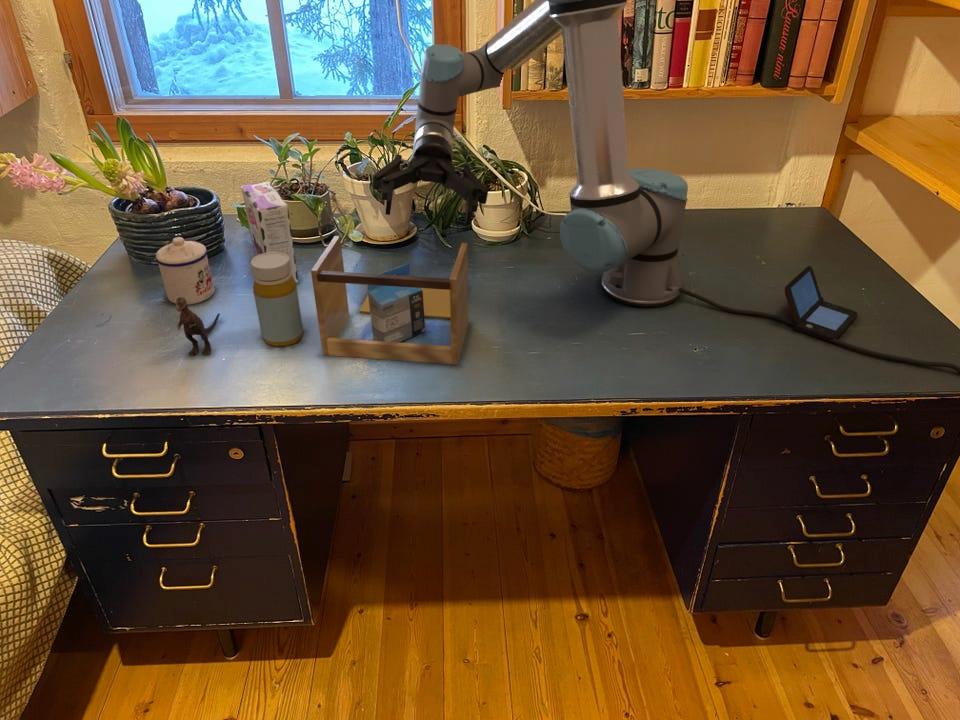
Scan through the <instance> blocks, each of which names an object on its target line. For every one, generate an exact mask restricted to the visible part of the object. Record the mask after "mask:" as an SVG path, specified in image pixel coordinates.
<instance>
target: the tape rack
mask: <svg viewBox="0 0 960 720" xmlns="http://www.w3.org/2000/svg"><path fill="white" fill-rule="evenodd" d="M341 239H342V238H341V235H334V236H333V237H332V239H331V241H330V242H329V244H328V245H327V246H326V248H325V249H324V251H323V253H322V254H321V255H320V256H319V258H318V260H317V261H316V263H315V264H314V265H313V267H312V268H311V270H310V275H311V280H312V288H313V289H312V290H313V295H314V303H315V308H316V316H317V323H318V324H317V325H318V331H319V338H320V344H321V345H320V346H321V352H322V356H327V357H328V356H331V357H332V356H333V357H345V358H346V357H347V358H357V359H358V358H359V359H360V358H361V359H371V360H372V359H373V360H385V361H387V360H388V361H398V362H399V361H400V362H401V361H402V362H414V363H427V364H439V365H440V364H442V365H452V366H458V364H459V361H460V357H461V353H462V349H463V346H464V343H465V342H464V341H465V340H466V339H465V338H466V334H467V331H468V326H469V249H468V247H469V244H468V243H467V242H461V244H460V247H459V250H458V253H457V256H456V260H455V262H454V265H453V268H452V271H451V275H450V277H449V278H446V277H429V276H415V275H414V276H412V275H410V276H399V275H396V274H394V275H383V274H380V273H366V272H364V273H363V272H350V271H349V272H348V271H345V266H344V257H343V247H342V241H341ZM347 284H349V285H351V284H352V285H366V286H368V285H381V286H397V287H413V288H429V289H445V290H450V318H451V319H450V345H440V344H439V345H437V344H423V343H411V342H410V343H408V342H399V343H397V342H383V341H374V340H369V339H356V338H355V339H353V338H340V335H341V333H342V331H343V329H344V327H345V325H346V324H347V321H348V320H349V318H350V310H349V301H348V292H347Z"/></svg>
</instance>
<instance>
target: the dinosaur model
mask: <svg viewBox="0 0 960 720" xmlns="http://www.w3.org/2000/svg"><path fill="white" fill-rule="evenodd" d="M175 310H176V312H178V313H180V314H179V321H178V323H177V325H176V328H177V329H178V330H179V331H180V330H181V328H182V325H183V332H184V336H185V338H186V339H187V340H188V341H190V343H191V346H192V348H191V350H190V351H189V352H188V356H190V357H191V356H192V357H194V356H197V355H198V353H199V340H197V339H196V338H195V337H193V336H200V338H201V341H203V342H204V343H203V344H204V345H203V346H204V347H203V349H202V350H201V355H202V356H204V357H206V356H209V355H211V353H212V345H211V342H210V341H209V338H208V333H210V332H211V331H212V330H213V329H214V328H215V326H216V323H217V322H218V320H219V318H220V315H221V313H219V312H218V313H217V315H216V316H215V318H214V319H213V322H212V323H211V325H210V326H208V327H206V328H205V324H204V322H203V321H204V320H202V319H201V317H200V316H198V314H196V313H195V312H193V311H192V310H191V309H190V308H189V306H188V305H187V301H186V300H185V298H184V297H179V298H177V299H176V304H175Z"/></svg>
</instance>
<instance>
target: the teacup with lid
mask: <svg viewBox="0 0 960 720" xmlns="http://www.w3.org/2000/svg"><path fill="white" fill-rule="evenodd" d="M155 261H156V262H157V264H158V267H159V271H160V275H161V279H162V283H163V286H164V289H165V293H166V297H167V299H168V301H170V302H171V303H172V304H175V305H176V299H177V298H179V297H184V298H185V300H186V301H187V306H188V305H196V304H198V303H199V304H200V303H202V302H205V301H206V300H208V299H210V298H211V297H212V296H213V295H214V293H215V285H214V281H213V276H212V272H211V268H210V263H209V259H208V249H207V248H206V246H205V245H204V244H203V243H202V242H201V243H200V242H198V241H193V240H185V239H184V238H183V237H181V236H177V237H174V238H173V239H172V241H171V243H169V244H167V245H164V246H162V247H161V248H159V249H158V250H157V251H156V253H155Z"/></svg>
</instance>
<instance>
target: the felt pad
mask: <svg viewBox="0 0 960 720" xmlns="http://www.w3.org/2000/svg"><path fill="white" fill-rule="evenodd" d="M421 289H422V290H423V302H424V317H425V318H433V319H447V320H448V319H449V320H451V318H450V290H445V289H429V288H421ZM359 314H370V306H369V298H368V294H367V295H366V298H365V299H364V301H363V303H362V304H361V307H360V309H359Z"/></svg>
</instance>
